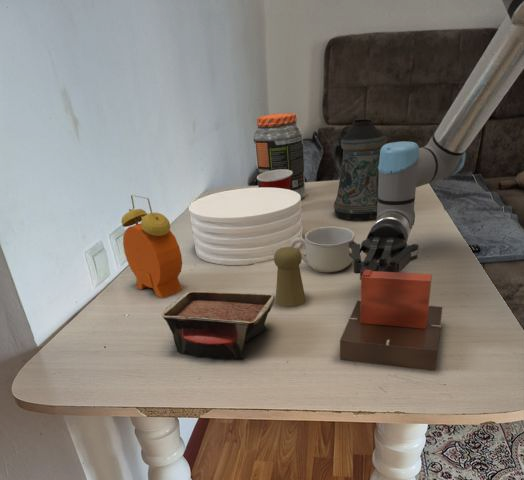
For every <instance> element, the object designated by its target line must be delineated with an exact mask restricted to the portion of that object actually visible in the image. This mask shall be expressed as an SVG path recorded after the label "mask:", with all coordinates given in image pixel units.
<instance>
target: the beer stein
mask: <svg viewBox="0 0 524 480" xmlns="http://www.w3.org/2000/svg"><path fill="white" fill-rule="evenodd" d="M387 141H388V137H387V136H386V134H385V133H384V132H383V131H382V130H380V129H378V128H377V127H376V126H375V124H373V122H372V119H355V120H353V122H352V124H351V125H345V126H344V127H342V129H341V131H340V136H339V137H338V138H337V139H336V140H335V144H334V145H333V149H332V159H333V163H334V166H335V169H336V172H337V174H338V176H339V182H338V189H337V192H336V198H335V201H334V203H333V209H334V213H335V217H336V218H338V219H340V220H343V221H347V222H372V221H376V219H377V204H378V179H379V170H378V166H379V159H380V150H381V148H382V147H383V146H384V145H385V144H387Z"/></svg>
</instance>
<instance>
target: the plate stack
mask: <svg viewBox="0 0 524 480" xmlns="http://www.w3.org/2000/svg"><path fill="white" fill-rule="evenodd" d="M301 204H302V199H301V196H300V194H298V193H297V192H295V191H292V190H288V189H282V188H269V187H260V188H258V187H246V188H245V187H244V188H236V189H229V190H225V191H218V192H215V193H212V194H208V195H205V196H202V197H200V198H198V199H195V200H194V201H192V202H191V203H190V204H189V206H188V213H189V215H190V225H191V230H192V234H193V242H194V245H195V248H194V249H195V254H196V256H197V257H198V258H199V259H201V260H203V261H204V262H207V263H211V264H216V265H222V266H248V265H254V264H255V263H260V262H266V261H271V260H274V254H275V252H276V251H277V250H278V249H280V248H283V247H290V243H291V241H292V240H293V239H294V238H296V237H301V238H304V237H303V225H302V224H303V216H302V206H301ZM302 245H303V244H302V243H300V242H297V243H295V245H294V247H295V248H297V249H298V250H299V248H300V247H301V246H302Z"/></svg>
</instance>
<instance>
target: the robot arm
mask: <svg viewBox="0 0 524 480" xmlns="http://www.w3.org/2000/svg"><path fill="white" fill-rule="evenodd" d="M502 3H503V5H504V9H505V10H506V12H507V14H506V16H505V17H504V19H503V21H502V23H501V24H500V26H499V27H498V29H497V31H496V32H495V34H494V35H493V37H492V39H491V40H490V42H489V44H488V45H487V47H486V49H485V50H484V52H483V53H482V55H481V57H480V58H479V60H478V61H477V62H476V65H475V66H474V68H473V69H472V72H470V74H469V76H468V78H467V80H466V81H465V82H464V84H463V86H462V88H461V89H460V90H459V92H458V94H457V96H456V97H455V99H454V101H453V102H452V104H451V106H450V107H449V109H448V110H447V112H446V114H445V115H444V117H443V118H442V120H441V122H440V123H439V125H438V127H437V128H436V130H435V131H434V133H433V134H432V136H431V137H430V138H429V141H428V142H427V144H426V145H425V146H421V147H419V145H418V143H416V142H414V141H395V142H388V143H386V144H385V145H384V146H383V147H382V148H381V150H380V159H379V166H378V170H379V179H378V204H377V219H376V220H374V221H375V222H374V223H373V225H372V227H370V230H369V232H368V234H367V236H366V239H364V240H362V241H361V243H357V242H355V241H354V242H349V256H350V257H351V258H352V267H353V268H352V269H353V273H354V274H357V275H358V274H359V280H360V281H361V277H362V275H363V272H364V271H365V270H372V271H379V272H398V273H401V272H402V270H403V269H405V267H407V265H409V264H410V262H413V261H414V260H417V259H418V254H419V244H417V243H413V244H410V245H408V240H409V237H410V235H411V232H412V229H413V226H414V225H415V221H416V220H415V219H416V213H415V202H416V190H417V188H420V187H422V186H425V185H428V184H432V183H435V182H439V181H442V180H446V179H449V178H451V177H452V176H454V175H456V174H458V173H459V172H460V171H461V170H462V169H463V168H464V165H465V161H466V158H467V157H466V155H467V154H466V151H467V149H469V147H470V145H471V144H472V143H473V141H474V140H475V139H476V137H477V136H478V134H479V132H480V131H481V130H482V129H483V127H484V126H485V124H486V123H487V121H488V120H489V118H490V117H491V116H492V114H493V113H494V111H495V110H496V108H497V107H498V106H499V104H501V101H502V100H503V98H504V97H506V95H507V93H508V92H509V90H510V89H511V87H512V86H513V84H514V83H515V82H516V80H517V79H518V78H519V76H520V75H521V73H522V72H523V70H524V0H502ZM361 253H363V254H365V255H366V256H365V258H364V259H363V261H362V257H361Z"/></svg>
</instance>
